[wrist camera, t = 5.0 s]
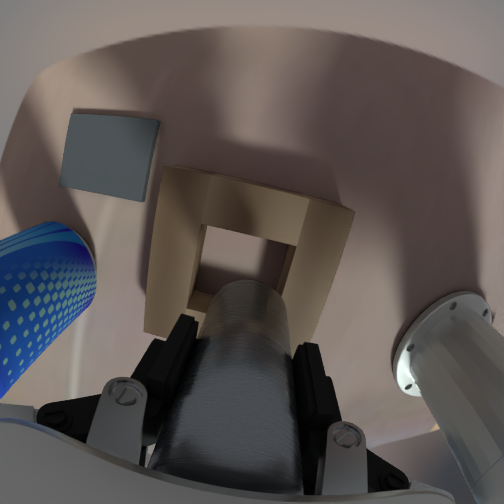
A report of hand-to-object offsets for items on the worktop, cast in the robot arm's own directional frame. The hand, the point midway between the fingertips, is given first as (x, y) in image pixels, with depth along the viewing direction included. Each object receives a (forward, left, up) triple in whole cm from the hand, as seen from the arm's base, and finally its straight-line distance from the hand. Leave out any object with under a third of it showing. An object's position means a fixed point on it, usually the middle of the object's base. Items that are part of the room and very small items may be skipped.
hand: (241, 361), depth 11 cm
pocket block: (+1, 0, -11) cm, 11 cm away
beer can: (+16, +4, -11) cm, 20 cm away
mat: (+13, -6, -11) cm, 18 cm away
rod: (0, 0, -4) cm, 4 cm away
